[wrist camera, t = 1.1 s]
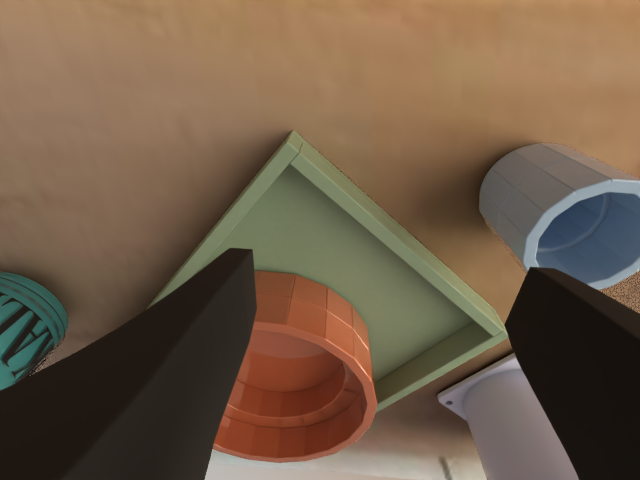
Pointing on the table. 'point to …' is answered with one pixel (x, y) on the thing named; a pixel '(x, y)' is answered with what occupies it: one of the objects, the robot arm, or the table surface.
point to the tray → (354, 267)
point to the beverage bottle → (27, 326)
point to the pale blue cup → (564, 213)
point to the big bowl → (300, 376)
